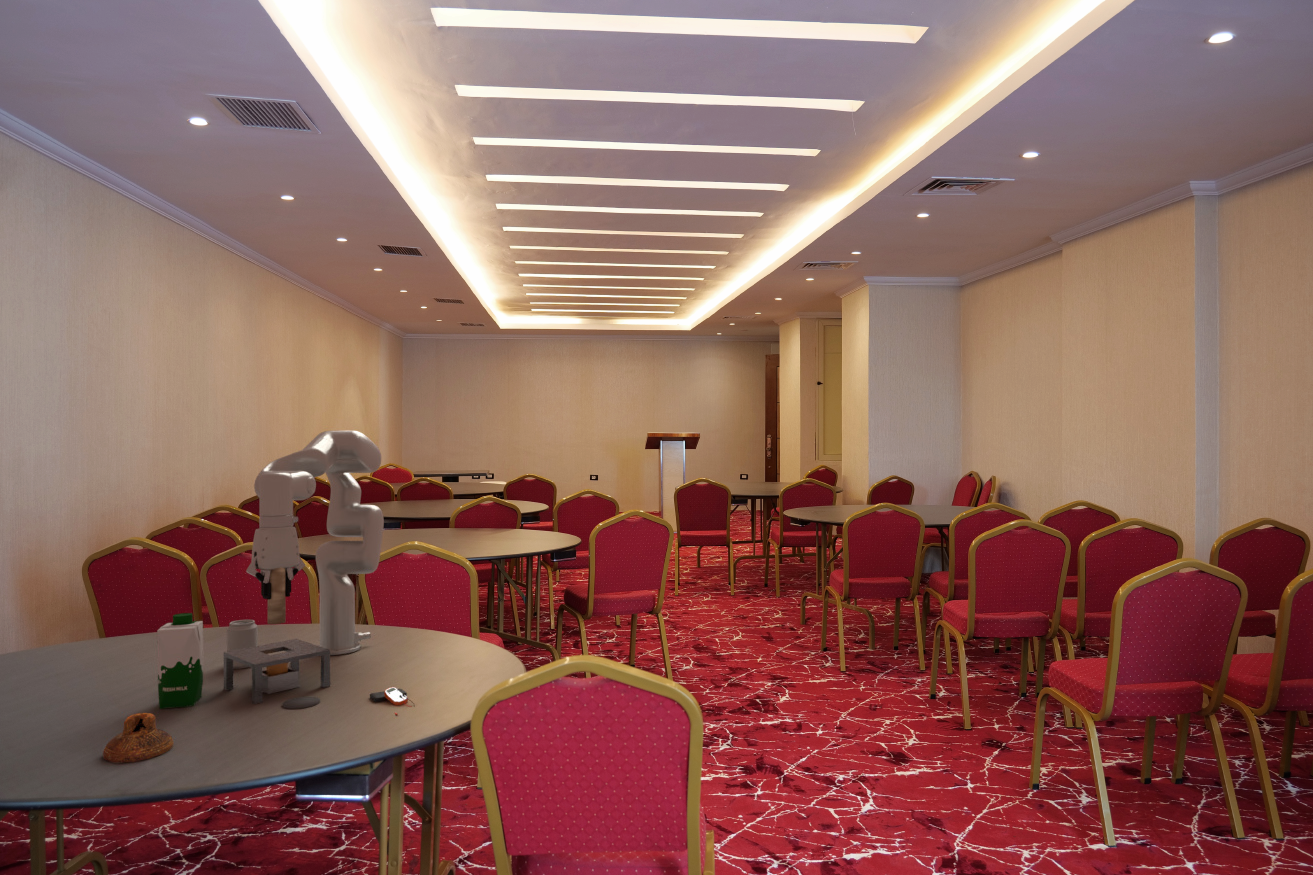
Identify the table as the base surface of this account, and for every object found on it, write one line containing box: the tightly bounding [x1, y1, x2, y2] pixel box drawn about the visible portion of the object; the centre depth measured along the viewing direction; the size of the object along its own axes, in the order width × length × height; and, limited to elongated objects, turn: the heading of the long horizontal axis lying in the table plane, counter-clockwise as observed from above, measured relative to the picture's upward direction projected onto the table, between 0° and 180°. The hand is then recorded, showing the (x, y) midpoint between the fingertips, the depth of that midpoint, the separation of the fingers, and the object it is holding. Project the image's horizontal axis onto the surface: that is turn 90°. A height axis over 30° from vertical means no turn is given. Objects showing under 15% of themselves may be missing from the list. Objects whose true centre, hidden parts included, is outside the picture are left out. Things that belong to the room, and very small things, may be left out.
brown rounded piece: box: [102, 712, 175, 764], centre depth 162 cm, size 12×12×7 cm
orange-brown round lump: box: [265, 662, 289, 676], centre depth 204 cm, size 5×5×4 cm
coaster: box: [281, 696, 321, 710], centre depth 191 cm, size 8×8×1 cm
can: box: [226, 619, 259, 670], centre depth 225 cm, size 8×8×12 cm
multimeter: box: [369, 686, 416, 716], centre depth 191 cm, size 18×12×3 cm, turn 29°
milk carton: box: [156, 612, 204, 710], centre depth 192 cm, size 9×9×20 cm
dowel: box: [267, 567, 287, 625], centre depth 204 cm, size 4×4×16 cm
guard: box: [223, 638, 331, 705], centre depth 204 cm, size 18×18×9 cm
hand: (276, 596), depth 204 cm, fingers closed on dowel, 4 cm apart
